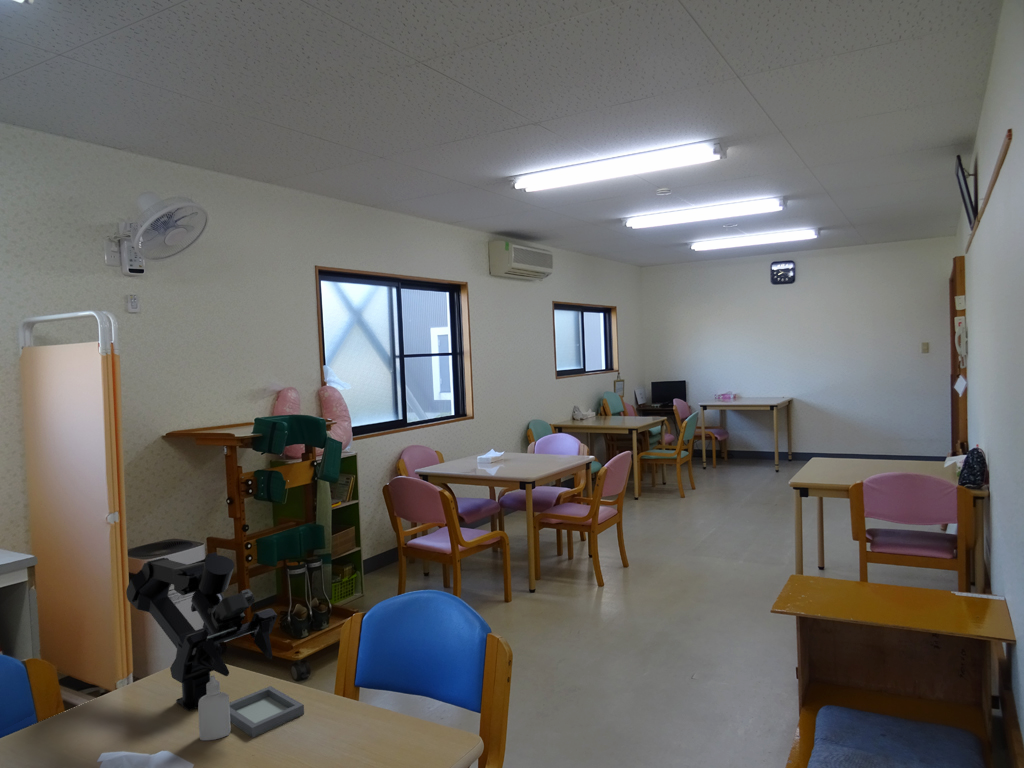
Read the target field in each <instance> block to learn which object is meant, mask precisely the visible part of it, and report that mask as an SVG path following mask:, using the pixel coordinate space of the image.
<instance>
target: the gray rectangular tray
mask: <svg viewBox="0 0 1024 768" xmlns="http://www.w3.org/2000/svg"><path fill="white" fill-rule="evenodd" d="M229 705H230V724H232V725H233V726H235V727H236V728H238V729H240V731H242V732H243V733H245V734H247V736H250V737H251V738H252V739H253V738H255V737H258V736H259V735H261V734H264V733H266V732H268V731H271V730H272V729H275V728H276V727H280V726H282V725H284V724H286V723H288V722H290V721H292V720H294V719H296V718H299V717H301V716H303V715H304V714H305V704H304V703H302V702H300V701H299V700H296V699H294V698H292V697H291V696H289V695H287V694H285V692H282V691H280V690H279V689H277V688H275V687H274V686H271V685H269V686H267V687H264V688H262V689H259V690H257V691H254V692H252V693H250V694H247V695H244V696H243V697H240V698H237V699H235V700H233V701H229Z"/></svg>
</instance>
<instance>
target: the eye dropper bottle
mask: <svg viewBox="0 0 1024 768" xmlns="http://www.w3.org/2000/svg"><path fill="white" fill-rule="evenodd" d="M220 686H221V684H220V680H218V679H216V676H215V675H213V674H212V675H210V682H208V683H207V684H206V690H207V695H205V696H203V697H201V698H200V700H199V703H198V708H197V710H198V731H199V739H200V741H213V740H219V739H222V738H225V737H227V736H229V735H230V734H231V729H232V728H231V722H230V705H229V703H230V696H229V694H228V693H227V692H223V691H221V687H220Z"/></svg>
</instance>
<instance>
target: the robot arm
mask: <svg viewBox="0 0 1024 768" xmlns="http://www.w3.org/2000/svg"><path fill="white" fill-rule="evenodd" d="M234 568H235V563H234V560H233V559H231V558H229V557H227V556H224V555H218V553H217V552H211V553H206V555H205V558H204V561H203V562H196V563H190V564H187V563H184V562H183V563H182V562H178V561H175V560H171V559H169V558H168V557H166V558H165V557H160V558H156V559H151V560H148V561H146V562H144V563H143V565H142V567H141V569H140V570H139V571H138V572H137V573H136V574H135V575H133V576H132V578H130V580H129V583H128V585H127V587H126V591H125V593H126V599H127V602H129V603H131V605H132V606H133V607H134V608H135V609H136V610H138V611H142V612H146V613H149V614H150V615H151V616H152V618H153V619H154V620H155V622H156V623H157V624H158V625H159V627H160V628H161V629H162V631H163V632H164V633H165V635H166V636H167V637H168V639H169V640H170V641H171V643H172V645H174V647H175V648H176V654H175V659H174V660H173V662H172V664H171V666H170V667H169V668H170V675H171V678H172V679H174V680H176V681H177V682H179V683H180V684H181V694H182V695H181V696H182V697H180V698H177V699H176V700H175V701H176V703H177V704H178V705H179V706H181V707H182V708H183V709H185V710H186V711H193V710H195V709H198V703H199V700H200V698H201V697H203V696H205V695H207V690H206V684H207V683H208V682H210V678H211V672H216V673H219V674H220V675H223V676H224V677H228V676H229V675H230V670H229V667H228V666H227V665H226V663H225V661H224V660H223V658H222V654H223V653H222V652H223V649H222V645H221V644H220V643H223V642H224V643H225V642H226V643H227V642H228V641H231V640H233V639H236V638H237V639H238V638H240V637H243V636H245V635H248V634H249V635H250V637H251V638H252V639H254V640H253V643H254V644H255V645H256V646H257V648H258V649H259V650H260V651H261V652H262V653H263V655H264V656H265V657H266V658H268V660H272V659H273V649H272V643H271V639H270V634H271V633H272V632H273V628H274V627H275V624H276V621H277V619H278V618H277V617H278V614H277V612H275V610H274V609H273V608H272V607H271V608H269V607H268V608H266V609H263V610H259V611H257V612H254V613H253V615H252V618H251V621H249V622H246V623H244V624H243V623H242V621H243V620H244V619H245V618H246V617H245V616H246V615H245V613H244V612H245V611H246V610H247V609H249V608H250V607H251V606H253V604H254V603H255V602H256V601H255V600H256V599H255V595H254V593H253V592H252V591H251V590H250V588H247V589H244V590H241V591H240V593H237V594H236V593H235V594H233V595H230V596H226V597H225V594H224V592H225V591H226V590H227V589H228V587H229V584H230V581H231V578H232V575H233V571H234ZM171 585H173V589H174V591H175V592H176V593H178V594H179V595H181V596H187V595H189V594H190V595H191V594H192V597H191V601H190V603H191V605H190V610H191V612H192V613H194V612H197V613H198V615H199V617H200V618H201V620H202V622H203V625H202V628H200V629H199V628H198V629H195V628H194V627H193V625H192V624H191V623H190V621H189V620H188V619H187V618H186V616H185V615H184V614H183V613H182V612H181V610H180V609H179V608H178V606H177V605H176V604H175V603H174V601H172V599H171V598H170V596H169V592H170V588H171Z"/></svg>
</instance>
